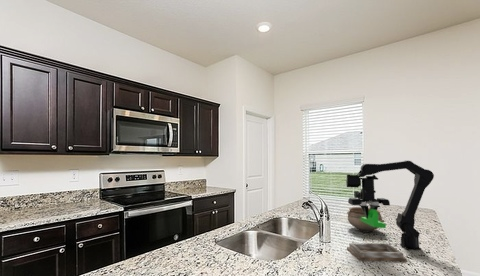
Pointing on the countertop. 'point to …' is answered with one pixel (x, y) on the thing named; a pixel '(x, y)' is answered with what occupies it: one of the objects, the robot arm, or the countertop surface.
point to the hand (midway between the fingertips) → (369, 218)
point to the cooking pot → (355, 219)
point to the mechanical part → (373, 219)
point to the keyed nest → (375, 252)
